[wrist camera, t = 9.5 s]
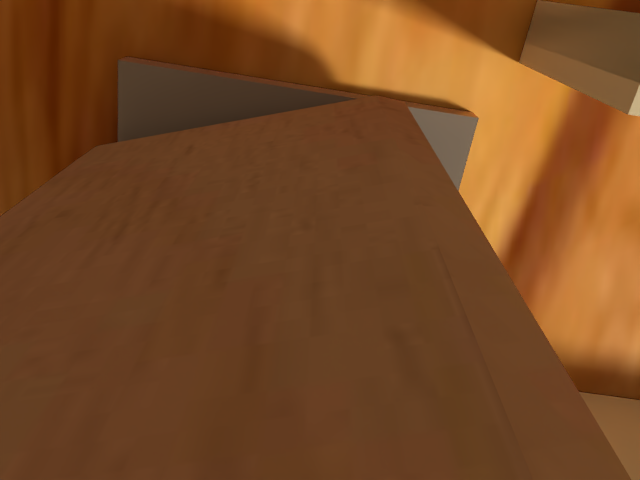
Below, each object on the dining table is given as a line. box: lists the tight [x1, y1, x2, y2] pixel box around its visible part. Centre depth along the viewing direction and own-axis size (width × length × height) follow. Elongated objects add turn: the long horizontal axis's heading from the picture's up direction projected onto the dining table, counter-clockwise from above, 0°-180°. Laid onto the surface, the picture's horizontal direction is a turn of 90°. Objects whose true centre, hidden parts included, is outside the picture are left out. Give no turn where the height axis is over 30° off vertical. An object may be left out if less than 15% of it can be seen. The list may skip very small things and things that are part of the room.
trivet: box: [118, 57, 478, 190], centre depth 20 cm, size 11×11×1 cm
